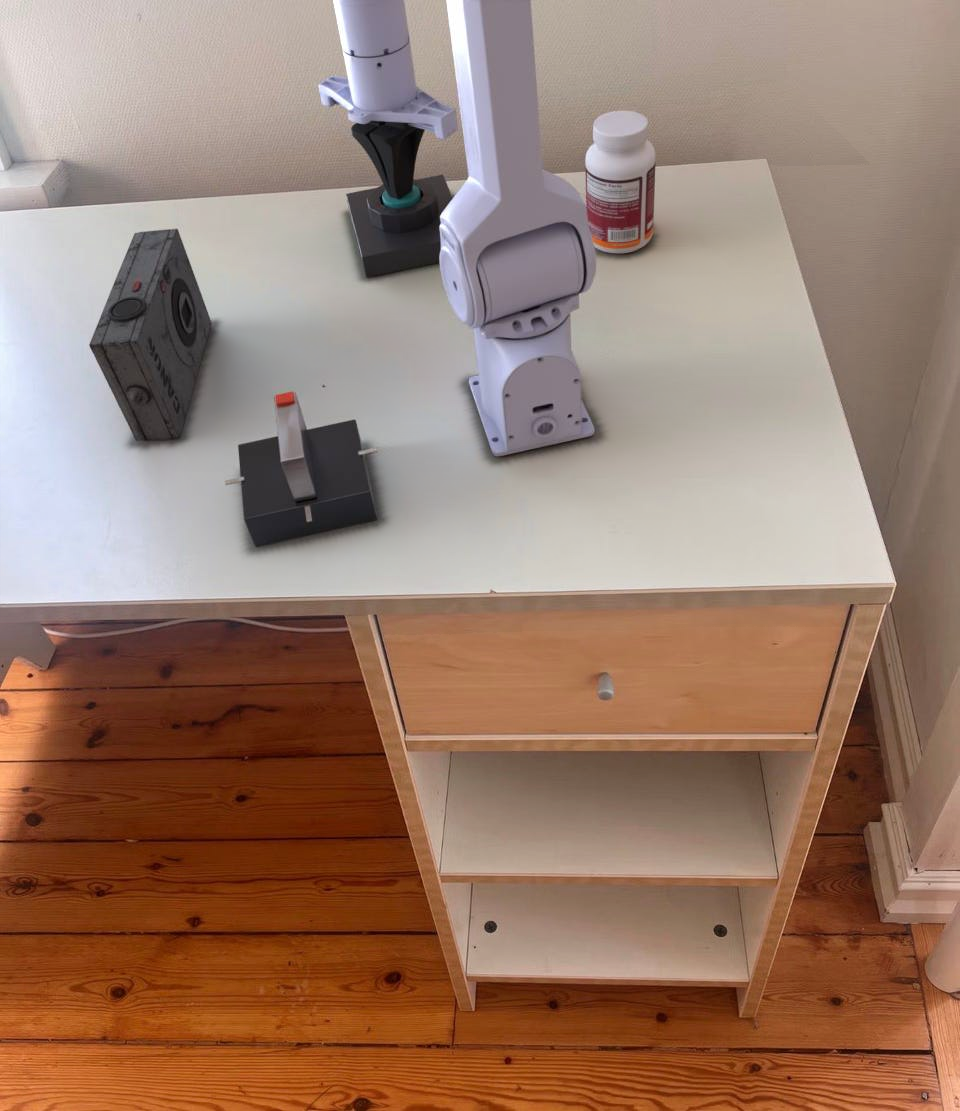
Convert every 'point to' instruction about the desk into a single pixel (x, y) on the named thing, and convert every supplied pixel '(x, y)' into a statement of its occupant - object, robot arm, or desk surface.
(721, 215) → the desk surface
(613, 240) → the pill bottle
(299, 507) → the tap deck
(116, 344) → the camera
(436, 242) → the control block
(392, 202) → the button
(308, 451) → the red-tipped silver slab
